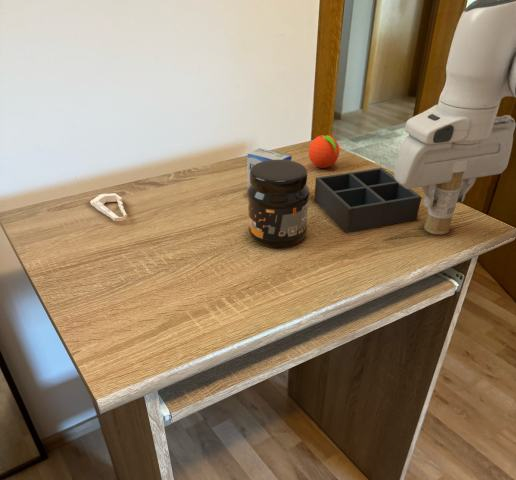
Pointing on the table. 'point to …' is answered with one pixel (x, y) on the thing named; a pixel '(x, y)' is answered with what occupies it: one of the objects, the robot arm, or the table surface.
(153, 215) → the table surface
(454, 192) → the sprinkles bottle
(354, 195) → the rack
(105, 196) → the cream triangular ring
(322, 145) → the clementine
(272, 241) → the supplement container
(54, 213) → the table surface
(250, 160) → the medicine box
